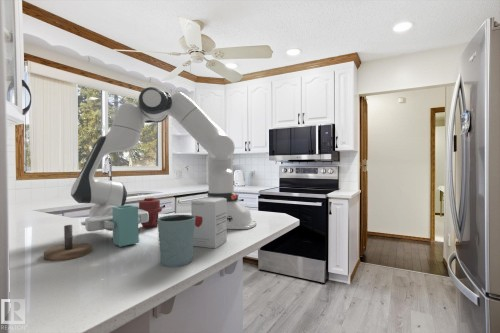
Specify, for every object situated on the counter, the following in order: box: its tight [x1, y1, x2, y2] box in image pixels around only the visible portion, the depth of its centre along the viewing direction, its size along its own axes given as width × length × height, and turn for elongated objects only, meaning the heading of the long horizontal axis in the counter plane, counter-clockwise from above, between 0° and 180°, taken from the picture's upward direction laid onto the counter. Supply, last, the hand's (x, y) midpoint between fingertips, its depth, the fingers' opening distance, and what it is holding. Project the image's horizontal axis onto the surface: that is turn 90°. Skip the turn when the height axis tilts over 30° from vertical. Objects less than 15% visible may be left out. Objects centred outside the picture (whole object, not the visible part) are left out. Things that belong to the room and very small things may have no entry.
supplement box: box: [190, 196, 228, 249], centre depth 90 cm, size 9×9×15 cm
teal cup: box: [157, 214, 195, 268], centre depth 74 cm, size 10×10×12 cm
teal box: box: [112, 204, 140, 247], centre depth 90 cm, size 6×6×12 cm
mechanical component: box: [138, 197, 163, 230], centre depth 115 cm, size 12×10×10 cm
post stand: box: [43, 224, 93, 262], centre depth 81 cm, size 12×12×8 cm
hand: (126, 223), depth 89 cm, fingers closed on teal box, 6 cm apart
